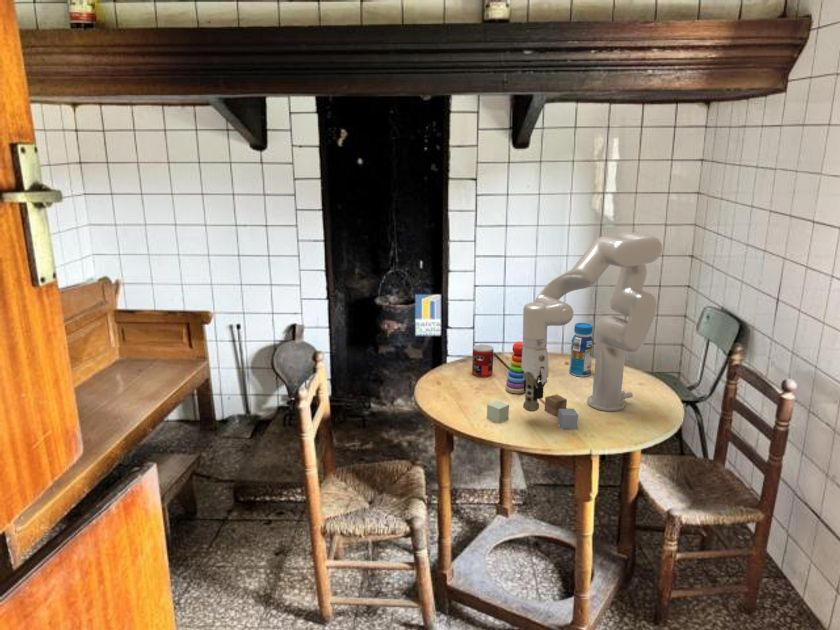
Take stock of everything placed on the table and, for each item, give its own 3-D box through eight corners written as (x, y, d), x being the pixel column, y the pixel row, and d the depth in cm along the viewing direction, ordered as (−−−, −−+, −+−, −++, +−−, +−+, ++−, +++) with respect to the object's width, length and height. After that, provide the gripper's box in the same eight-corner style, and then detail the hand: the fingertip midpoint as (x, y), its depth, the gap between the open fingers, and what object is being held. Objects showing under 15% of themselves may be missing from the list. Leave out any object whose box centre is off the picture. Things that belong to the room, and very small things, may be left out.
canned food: (469, 371, 252) (469, 345, 249) (487, 369, 254) (488, 343, 251) (476, 378, 245) (477, 351, 242) (495, 376, 247) (496, 349, 244)
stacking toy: (507, 394, 230) (509, 345, 225) (503, 386, 237) (505, 338, 232) (528, 394, 230) (531, 345, 225) (524, 386, 238) (527, 338, 233)
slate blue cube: (572, 422, 208) (573, 408, 206) (577, 429, 203) (578, 415, 202) (557, 423, 207) (558, 408, 206) (561, 429, 203) (562, 415, 201)
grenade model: (545, 412, 204) (547, 368, 200) (523, 412, 204) (524, 368, 200) (543, 403, 210) (544, 360, 206) (521, 403, 211) (522, 361, 206)
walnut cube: (555, 407, 219) (556, 394, 218) (565, 413, 215) (566, 399, 213) (544, 410, 217) (545, 396, 215) (554, 416, 212) (555, 402, 211)
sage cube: (496, 414, 213) (497, 400, 212) (508, 418, 210) (508, 404, 209) (486, 418, 210) (487, 404, 209) (498, 423, 207) (499, 409, 205)
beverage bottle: (566, 369, 255) (569, 321, 249) (586, 369, 255) (591, 321, 250) (572, 377, 247) (576, 328, 241) (593, 377, 247) (598, 327, 242)
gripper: (559, 348, 194) (557, 403, 200) (532, 332, 210) (530, 383, 215) (537, 352, 192) (535, 406, 197) (511, 335, 208) (510, 386, 213)
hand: (533, 394), depth 206 cm, fingers closed on grenade model, 5 cm apart
